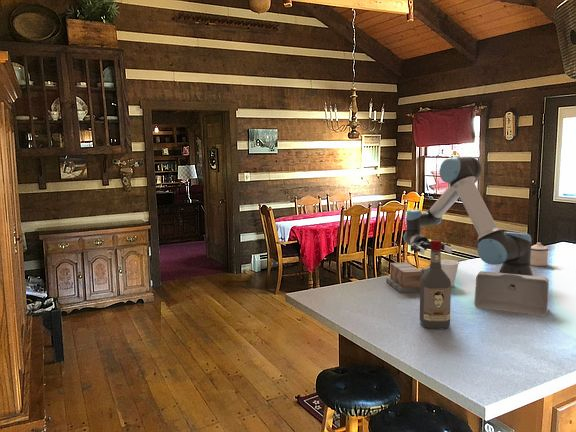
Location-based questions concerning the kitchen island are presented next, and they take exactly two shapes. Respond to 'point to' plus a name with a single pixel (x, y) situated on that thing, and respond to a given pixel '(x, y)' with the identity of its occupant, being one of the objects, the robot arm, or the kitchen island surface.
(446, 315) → the liquor
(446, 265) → the cup
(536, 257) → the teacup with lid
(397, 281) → the brown rectangular block
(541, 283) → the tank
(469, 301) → the kitchen island surface
